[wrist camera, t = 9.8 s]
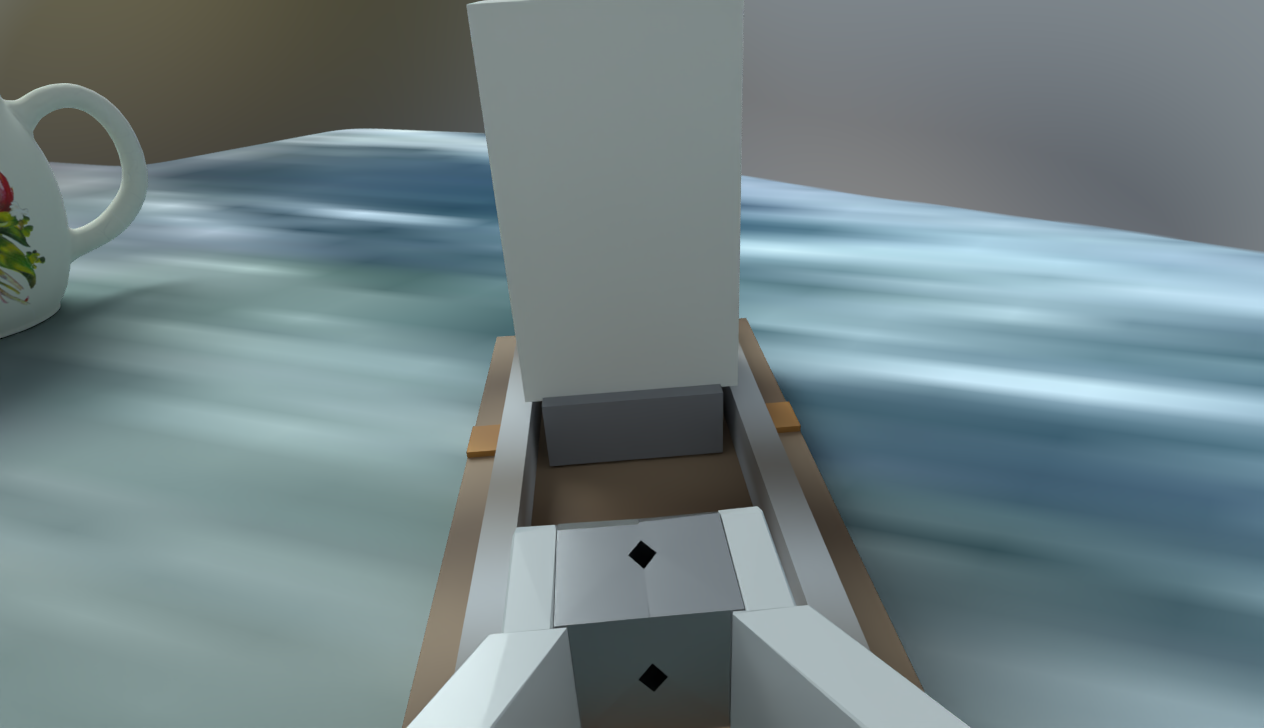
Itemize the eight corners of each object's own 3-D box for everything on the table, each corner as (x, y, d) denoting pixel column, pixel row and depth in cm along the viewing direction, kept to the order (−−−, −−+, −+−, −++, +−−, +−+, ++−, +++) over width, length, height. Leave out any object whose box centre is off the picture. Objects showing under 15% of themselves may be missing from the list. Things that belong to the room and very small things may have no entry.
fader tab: (740, 450, 21) (748, -14, 15) (532, 467, 21) (462, 4, 15) (717, 382, 24) (717, -15, 19) (540, 396, 24) (485, 0, 18)
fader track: (1199, 1442, 8) (1333, 1371, 6) (271, 1548, 8) (140, 1509, 6) (745, 362, 30) (747, 280, 28) (503, 380, 30) (490, 300, 28)
